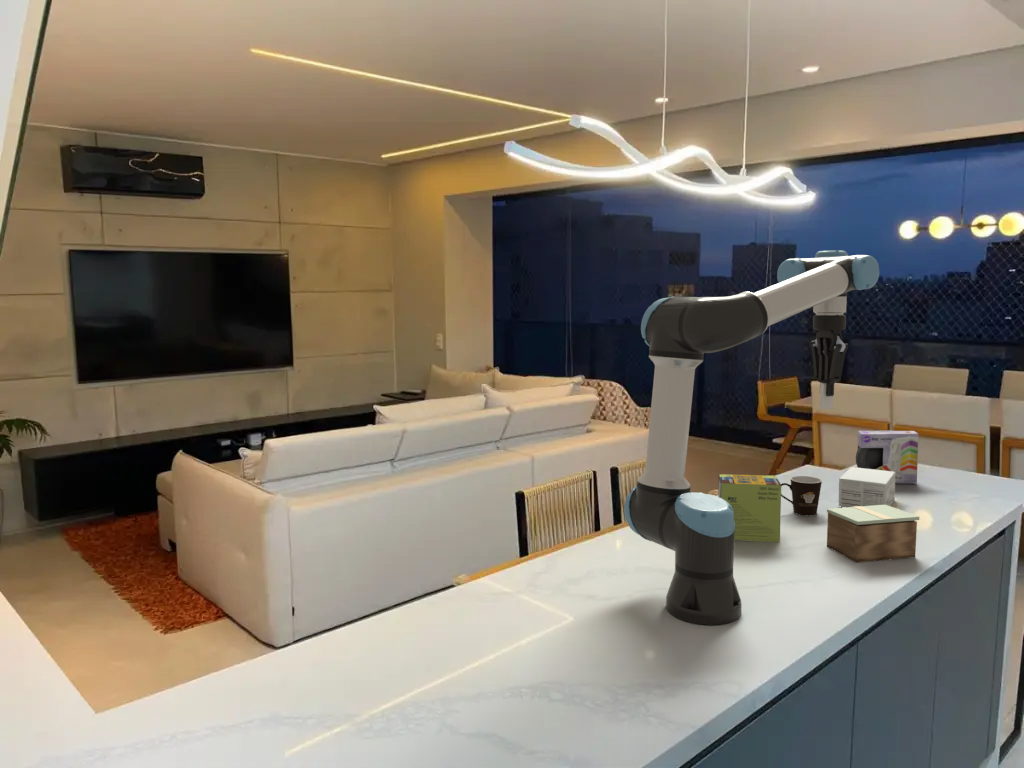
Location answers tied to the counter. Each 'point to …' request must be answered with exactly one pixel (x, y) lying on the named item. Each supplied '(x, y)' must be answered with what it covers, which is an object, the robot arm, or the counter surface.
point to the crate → (871, 539)
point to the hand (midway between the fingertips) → (826, 408)
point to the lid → (872, 514)
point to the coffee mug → (804, 494)
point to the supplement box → (866, 487)
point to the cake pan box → (889, 453)
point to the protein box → (753, 505)
